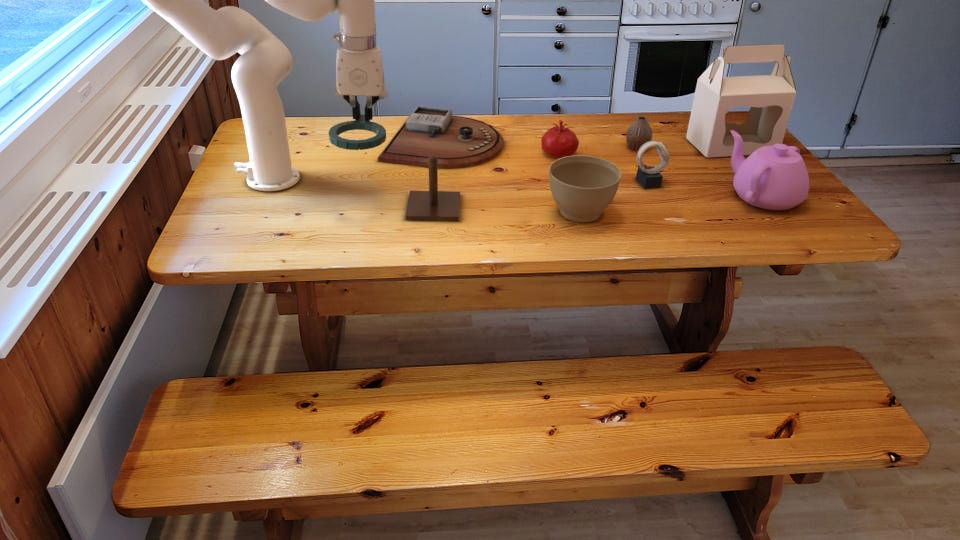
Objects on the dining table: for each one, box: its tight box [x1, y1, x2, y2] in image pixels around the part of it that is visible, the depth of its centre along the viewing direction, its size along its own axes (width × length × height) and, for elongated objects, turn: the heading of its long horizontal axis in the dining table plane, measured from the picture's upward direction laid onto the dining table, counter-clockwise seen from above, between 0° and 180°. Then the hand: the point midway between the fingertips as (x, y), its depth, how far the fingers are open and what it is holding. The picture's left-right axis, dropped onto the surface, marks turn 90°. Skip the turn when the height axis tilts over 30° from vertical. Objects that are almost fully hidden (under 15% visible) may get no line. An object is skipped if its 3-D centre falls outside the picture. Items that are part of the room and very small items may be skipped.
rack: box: [404, 155, 461, 222], centre depth 162 cm, size 12×12×13 cm
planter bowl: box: [548, 154, 622, 223], centre depth 162 cm, size 16×16×11 cm
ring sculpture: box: [635, 140, 671, 190], centre depth 175 cm, size 6×8×11 cm
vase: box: [625, 115, 653, 152], centre depth 193 cm, size 7×7×9 cm
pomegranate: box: [540, 119, 580, 159], centre depth 189 cm, size 10×10×9 cm
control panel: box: [377, 105, 504, 170], centre depth 194 cm, size 31×5×30 cm
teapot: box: [730, 130, 810, 211], centre depth 171 cm, size 22×22×14 cm
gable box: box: [685, 43, 797, 159], centre depth 191 cm, size 22×13×28 cm, turn 101°
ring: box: [327, 113, 387, 151], centre depth 157 cm, size 12×16×2 cm
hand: (363, 121), depth 162 cm, fingers closed on ring, 1 cm apart
